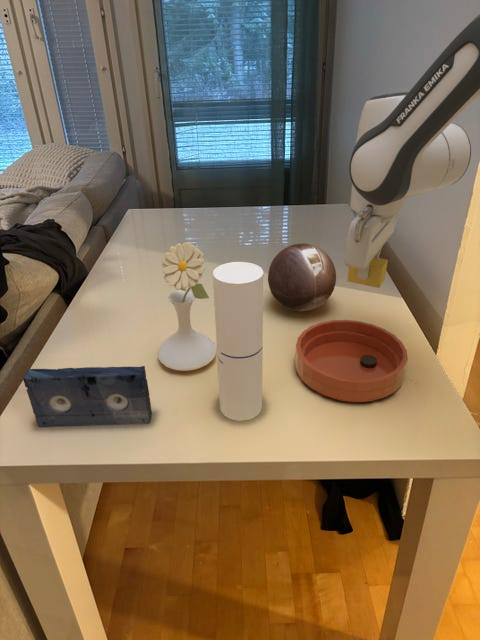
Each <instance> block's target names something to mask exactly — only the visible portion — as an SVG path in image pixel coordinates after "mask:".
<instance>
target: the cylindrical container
mask: <svg viewBox="0 0 480 640" xmlns="http://www.w3.org/2000/svg"><path fill="white" fill-rule="evenodd" d="M212 277H213V278H212V281H213V282H212V283H213V300H214V301H213V302H214V319H215V320H214V321H215V337H216V338H215V339H216V340H215V341H216V349H217V351H216V358H217V377H218V394H219V395H218V397H219V398H218V399H219V409H220V412H221V413H222V415H223V416H224V417H226V418H227V419H229V420H232V421H240V422H244V421H249V420H253V419H254V418H256V417H258V415H259V414H260V413H261V411H262V410H263V356H264V355H263V349H264V348H263V347H264V346H263V344H264V341H263V340H264V269H263V268H262V267H261V266H260V265H257V264H255V263H251V262H247V261H232V262H231V261H230V262H226V263H223V264H220V265H218V266H217V267H215V268H214V270H212Z"/></svg>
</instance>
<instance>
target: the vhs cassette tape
mask: <svg viewBox="0 0 480 640" xmlns="http://www.w3.org/2000/svg"><path fill="white" fill-rule="evenodd" d="M22 381H23V383H24V387H25V388H27V389H26V393H27V396H28V399H29V401H30V405H31V409H32V412H33V415H34V416H35V421H36V423H37V426H38V427H40V428H43V427H45V428H47V427H73V426H110V425H112V426H113V425H136V424H139V425H140V424H149V423H150V422H151V418H152V415H153V411H152V404H151V397H150V390H149V389H150V388H149V385H148V379H147V372H146V366H145V365H142V366H107V367H103V366H101V367H100V366H96V367H95V366H92V367H91V366H90V367H64V368H57V369H56V368H27V371H26V372H25V373H24V375H23V378H22Z"/></svg>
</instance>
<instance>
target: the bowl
mask: <svg viewBox="0 0 480 640" xmlns="http://www.w3.org/2000/svg"><path fill="white" fill-rule="evenodd" d="M363 355H372V356H374V357H375V358H376V359H377V364H376V366H375V367H374V368H365V367H363V366H362V365H361V364H360V359H361V357H362V356H363ZM294 357H295V359H294V365H295V370H296V373H297V375H298V376H299V378H300V379H301V381H302V382H303V383H304V384H305V385H307V386H308V387H309V388H310V389H312V390H314V391H315V392H317V393H319V394H321V395H323V396H325V397H328V398H330V399H333V400H337V401H342V402H349V403H366V402H372V401H373V402H374V401H377V400H380V399H384V398H385V397H388V396H390V395H392V394H394V393H395V392H396V391H397V390H398V389H399V388H400V387H401V386H402V383H403V381H404V379H405V375H406V369H407V364H408V360H409V356H408V350H407V348H406V346H405V345H404V343H403V341H402V340H400V339H399V338H398V337H397V336H396V335H395V334H394V333H392V332H390V331H389V330H387V329H385V328H383V327H381V326H379V325H376V324H372V323H369V322H365V321H359V320H354V319H352V320H351V319H331V320H325V321H321V322H318V323H316V324H312V325H310V326H309V327H307V328H305V329H304V330H303V331H301V333H300V334H299V335H298V337H297V341H296V343H295V356H294Z"/></svg>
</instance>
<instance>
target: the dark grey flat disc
mask: <svg viewBox="0 0 480 640" xmlns="http://www.w3.org/2000/svg"><path fill="white" fill-rule="evenodd" d="M360 364H361V365H362V366H363V367H365V368H374V367H375V366H376V364H377V359H376V358H375V357H374V356H372V355H363V356H362V357H361V359H360Z"/></svg>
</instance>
